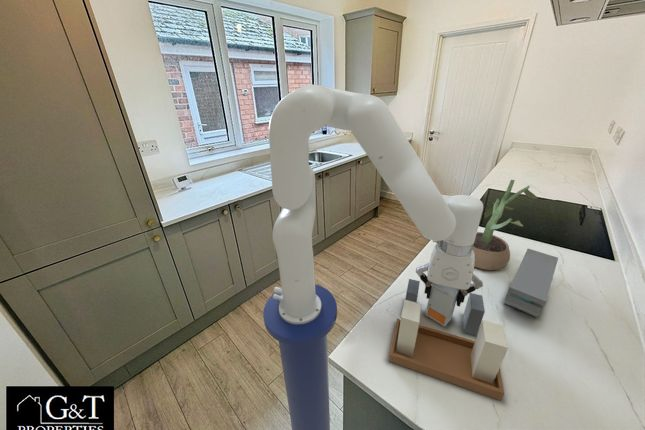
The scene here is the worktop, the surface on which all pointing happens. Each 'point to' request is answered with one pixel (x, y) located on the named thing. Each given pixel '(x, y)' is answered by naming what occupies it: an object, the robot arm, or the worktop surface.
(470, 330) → the grey carton
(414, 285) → the grey carton
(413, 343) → the cream box left
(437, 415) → the worktop surface
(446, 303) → the cosmetic box
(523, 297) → the grey rectangular box
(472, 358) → the cream box right
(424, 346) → the tray
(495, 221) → the potted plant
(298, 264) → the robot arm
